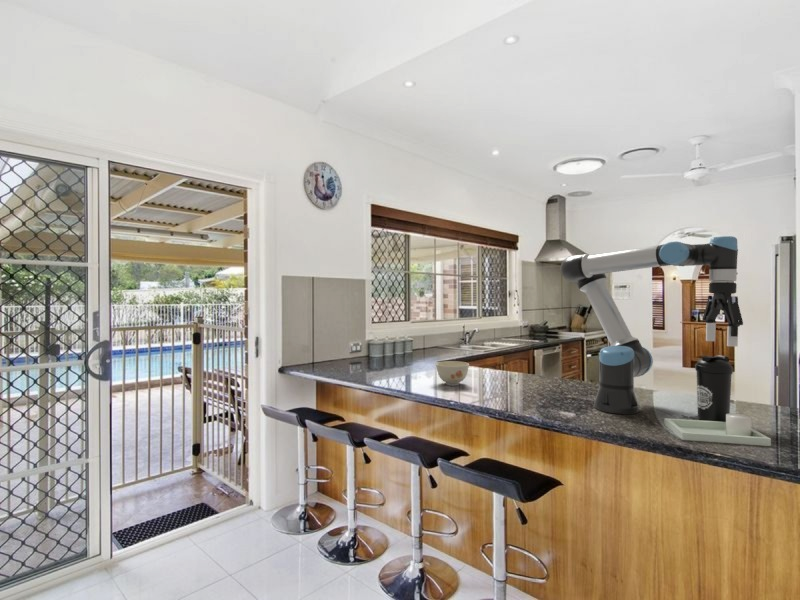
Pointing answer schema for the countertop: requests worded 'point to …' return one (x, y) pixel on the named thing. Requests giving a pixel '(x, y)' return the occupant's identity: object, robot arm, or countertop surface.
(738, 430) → the white domed cylinder
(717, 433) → the tray
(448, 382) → the bowl
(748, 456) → the countertop surface
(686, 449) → the countertop surface
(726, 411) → the water bottle
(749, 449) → the countertop surface
